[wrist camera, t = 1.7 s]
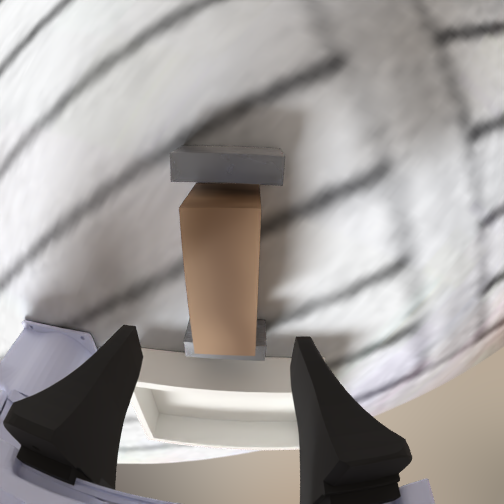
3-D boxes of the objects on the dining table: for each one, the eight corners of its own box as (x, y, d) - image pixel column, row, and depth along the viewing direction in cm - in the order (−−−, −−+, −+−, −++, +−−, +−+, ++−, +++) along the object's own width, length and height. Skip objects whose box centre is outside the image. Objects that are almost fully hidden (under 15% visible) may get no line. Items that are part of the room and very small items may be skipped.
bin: (154, 412, 31) (148, 439, 27) (133, 346, 26) (120, 378, 22) (303, 420, 31) (306, 448, 28) (324, 357, 26) (332, 391, 22)
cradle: (191, 330, 24) (185, 356, 22) (182, 145, 18) (170, 153, 15) (263, 334, 24) (264, 361, 22) (280, 148, 18) (284, 156, 15)
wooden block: (204, 308, 23) (194, 353, 19) (196, 182, 19) (179, 207, 14) (254, 309, 24) (255, 355, 19) (259, 183, 19) (260, 208, 14)
